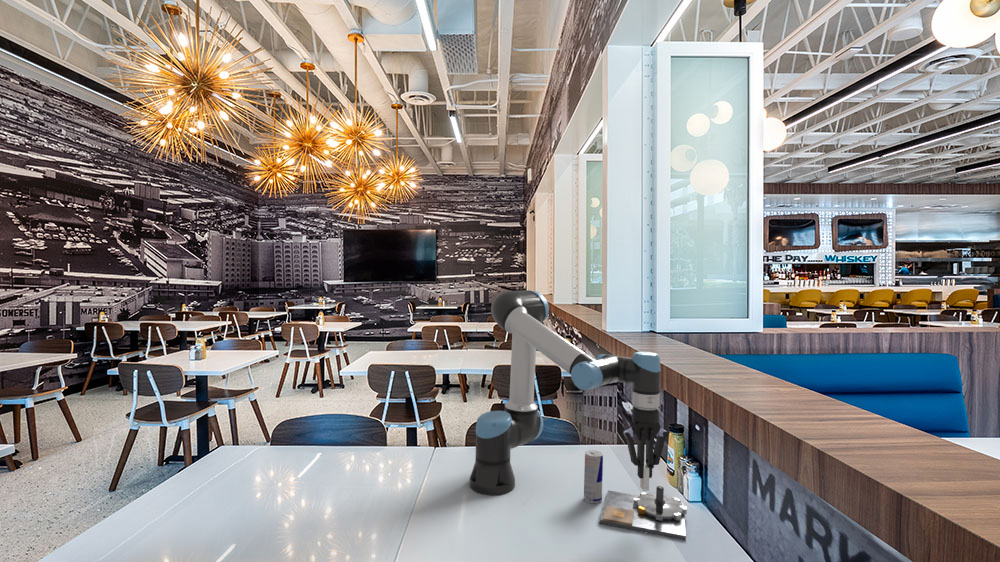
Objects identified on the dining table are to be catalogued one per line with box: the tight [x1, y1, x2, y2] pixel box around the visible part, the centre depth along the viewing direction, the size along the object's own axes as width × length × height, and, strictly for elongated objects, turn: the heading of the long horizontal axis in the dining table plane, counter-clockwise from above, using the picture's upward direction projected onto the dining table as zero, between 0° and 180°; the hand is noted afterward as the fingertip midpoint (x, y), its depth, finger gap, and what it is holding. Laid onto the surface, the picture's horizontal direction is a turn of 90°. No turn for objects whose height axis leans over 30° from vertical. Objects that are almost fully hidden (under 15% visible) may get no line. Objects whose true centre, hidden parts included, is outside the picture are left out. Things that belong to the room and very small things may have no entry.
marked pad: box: [603, 506, 634, 526], centre depth 141 cm, size 8×8×1 cm
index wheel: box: [634, 485, 688, 521], centre depth 146 cm, size 15×15×8 cm
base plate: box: [599, 489, 687, 541], centre depth 144 cm, size 23×20×1 cm
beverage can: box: [583, 449, 604, 504], centre depth 153 cm, size 6×6×15 cm
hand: (644, 488), depth 140 cm, fingers closed
